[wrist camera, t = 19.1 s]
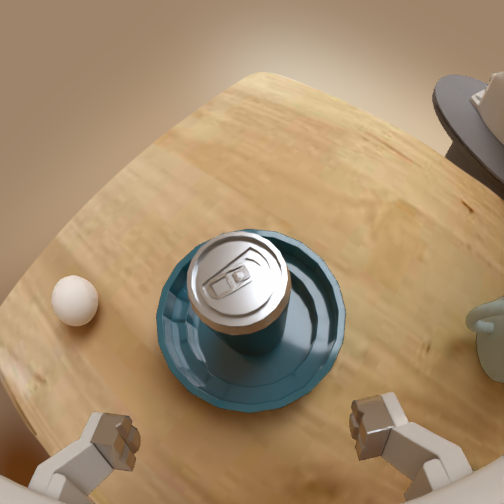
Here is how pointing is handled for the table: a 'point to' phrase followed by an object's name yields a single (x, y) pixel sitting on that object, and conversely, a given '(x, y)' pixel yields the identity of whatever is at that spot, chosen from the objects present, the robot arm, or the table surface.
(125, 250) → the table surface
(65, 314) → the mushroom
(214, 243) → the green soda can
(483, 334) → the mug
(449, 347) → the table surface
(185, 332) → the teal bowl
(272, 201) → the table surface
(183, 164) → the table surface
